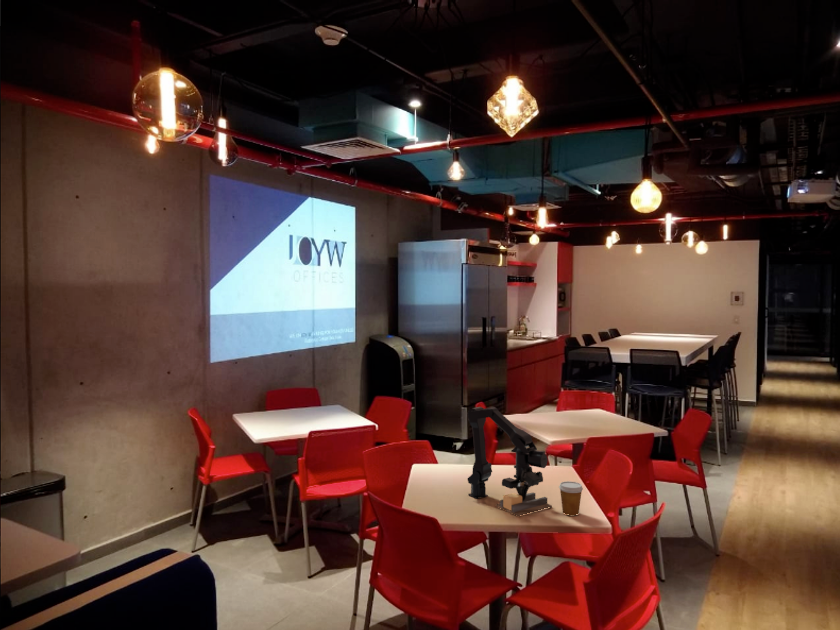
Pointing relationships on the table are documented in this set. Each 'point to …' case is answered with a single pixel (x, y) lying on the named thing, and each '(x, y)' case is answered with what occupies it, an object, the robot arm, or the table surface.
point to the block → (511, 500)
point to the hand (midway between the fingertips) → (522, 500)
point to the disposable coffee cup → (570, 497)
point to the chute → (527, 505)
